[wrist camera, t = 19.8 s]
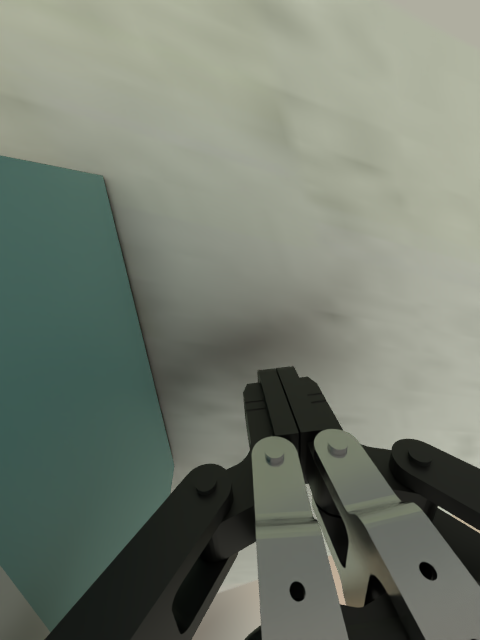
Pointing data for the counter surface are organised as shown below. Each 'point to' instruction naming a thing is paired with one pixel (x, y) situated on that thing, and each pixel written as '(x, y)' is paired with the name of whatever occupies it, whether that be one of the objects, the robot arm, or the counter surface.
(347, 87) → the counter surface
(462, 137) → the counter surface
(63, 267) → the drawer
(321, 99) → the counter surface
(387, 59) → the counter surface
